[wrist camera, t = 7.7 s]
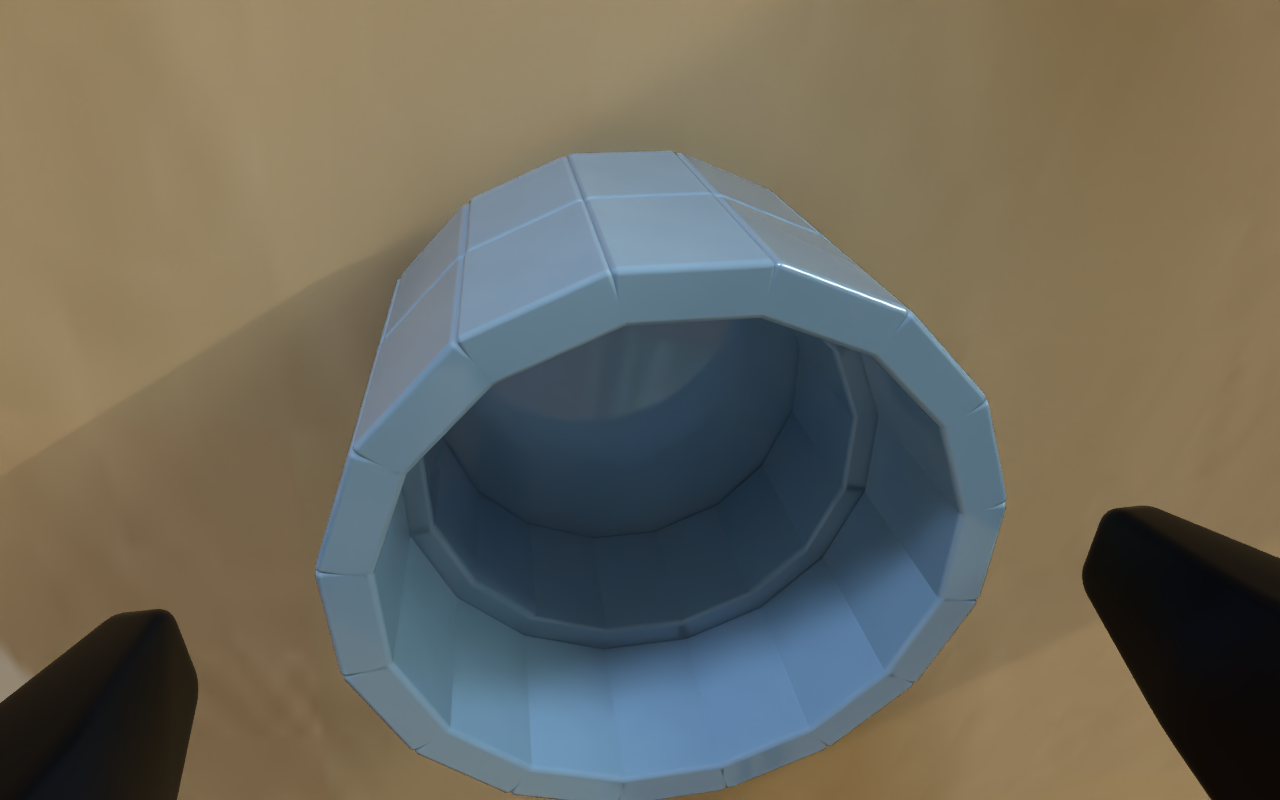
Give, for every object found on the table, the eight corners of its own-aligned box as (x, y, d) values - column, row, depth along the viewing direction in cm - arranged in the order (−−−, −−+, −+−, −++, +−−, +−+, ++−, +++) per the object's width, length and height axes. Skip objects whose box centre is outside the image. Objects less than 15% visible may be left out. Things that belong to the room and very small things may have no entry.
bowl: (415, 571, 13) (382, 844, 9) (341, 150, 9) (237, 287, 6) (808, 530, 14) (934, 760, 10) (864, 135, 10) (1087, 244, 6)
